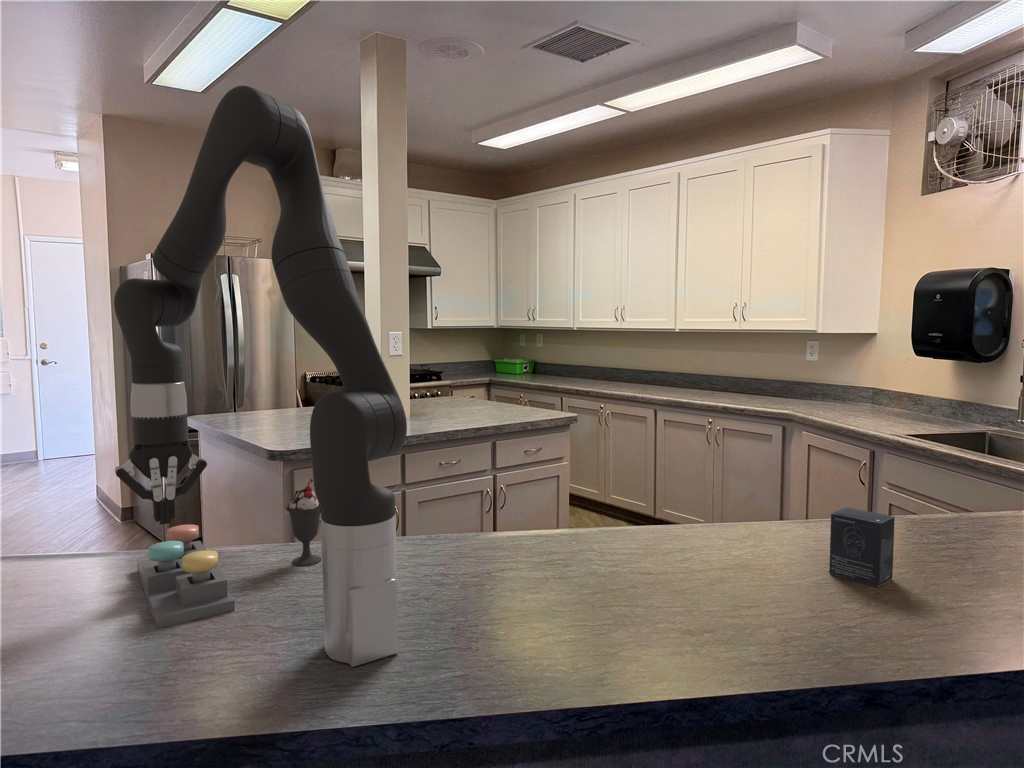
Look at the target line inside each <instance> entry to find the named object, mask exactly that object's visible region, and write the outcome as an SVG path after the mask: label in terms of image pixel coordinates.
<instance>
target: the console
mask: <svg viewBox="0 0 1024 768" xmlns="http://www.w3.org/2000/svg"><path fill="white" fill-rule="evenodd" d="M191 545H192V550H190V551H185V552H184V554H183V555H182V556H181V557H179V558H176V559H175V561H176V569H174V570H168V571H163V572H158V561H151V560H149V559H148V560H143V561H138V562H136V567H137V573H138V576H139V579H140V582H141V585H142V587H143V592H144V593H145V596H146V600H147V603H148V605H149V609H150V611H151V615H152V617H153V621H154V623H155V626H156V629H161V628H165V627H169V626H170V627H171V626H174V625H177V624H182V623H186V622H190V621H194V620H195V621H196V620H199V619H204V618H208V617H212V616H216V615H221V614H224V613H229V612H233V611H235V609H236V608H235V606H236V605H235V599H234V598H233V596H232V594H231V593H230V592H229V590H228V579H227V578H226V576H225V575H224V573H223V572H222V570H221V569H220V568H219V567H215V568H213V569H211V570H210V581H205V582H200V583H195V584H192V573H191V572H185V571H183V570H182V557H183V556H185V555H187V554H189V553H192V552H197V551H205V550H207V549H206V548H205V545H204V544H203V542H202V541H201V540H196V541H195V540H193V541H191Z"/></svg>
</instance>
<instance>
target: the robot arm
mask: <svg viewBox="0 0 1024 768" xmlns="http://www.w3.org/2000/svg"><path fill="white" fill-rule="evenodd" d="M216 106H217V107H216V108H215V110H214V112H213V115H212V117H211V119H210V122H209V124H208V128H207V129H206V133H205V136H204V139H203V142H202V144H201V147H200V149H199V152H198V154H197V155H198V156H197V158H196V160H195V164H194V166H193V170H192V173H191V177H190V179H189V182H188V185H187V187H186V190H185V193H184V195H183V199H181V203H180V205H179V207H178V209H177V211H176V213H175V215H174V217H173V219H172V220H171V222H170V223H169V226H168V227H167V228H166V230H165V232H164V234H163V236H162V237H161V239H160V240H159V242H158V244H157V246H156V248H155V250H154V251H153V254H152V258H151V259H152V264H153V267H154V268H155V269H156V271H157V272H158V273H160V275H162V276H163V277H165V279H153V278H152V279H150V278H149V279H148V278H136V277H135V278H128V279H125V280H124V281H123V282H121V283H120V284H119V286H118V287H117V289H116V290H115V291H116V292H115V294H114V298H113V306H114V312H115V316H116V319H117V322H118V324H119V328H120V330H121V333H122V336H123V338H124V343H125V346H126V347H127V350H128V353H129V357H130V377H131V391H130V407H129V409H130V410H129V411H130V414H131V416H130V417H131V418H130V419H131V434H132V435H131V436H132V437H131V438H132V449H131V451H130V454H129V456H128V458H129V459H128V460H127V461H126V462H125V463H123V464H122V465H119V466H116V467H115V468H114V472H115V475H116V477H117V478H119V480H121V481H122V483H124V484H125V485H126V486H127V487H128V488H129V489H130V490H132V491H133V492H134V493H135V494H136V495H137V496H138V497H139V498H141V499H142V500H150V501H152V516H153V518H154V519H153V520H154V521H155V522H158V524H159V525H160V526H162V525H168V524H169V525H170V524H171V523H172V522H171V520H174V519H175V517H176V509H175V507H176V505H175V500H176V498H177V497H178V496H179V497H180V495H185V494H187V493H188V491H189V490H190V489H191V487H192V486H193V485H194V483H195V482H196V481H197V480H198V478H199V477H200V476H201V474H202V473H203V472H204V470H205V469H206V467H207V465H208V462H207V461H206V459H204V458H202V457H199V456H197V455H195V454H194V452H193V449H192V447H191V446H190V443H189V425H188V424H189V422H188V398H187V392H186V385H185V370H184V366H185V365H184V354H183V349H182V348H181V347H180V345H177V343H176V344H175V343H172V342H167V341H163V340H162V339H161V338H160V335H159V333H158V330H157V328H156V327H159V328H160V327H163V328H165V327H167V328H168V327H177V326H180V325H182V324H185V322H187V320H189V319H190V318H191V317H192V315H193V313H194V312H195V309H196V306H197V301H198V298H199V294H200V293H199V292H200V290H201V286H202V281H203V278H204V274H205V273H206V271H207V270H208V268H210V265H211V263H212V262H213V261H214V259H215V257H216V256H217V254H218V252H219V251H220V249H221V247H222V245H223V242H224V240H225V235H226V231H227V211H226V199H227V198H226V197H227V191H228V186H229V184H230V182H231V180H232V178H233V176H234V174H236V173H235V172H236V171H237V170H238V169H239V167H240V166H242V164H243V163H244V162H245V163H247V164H250V165H254V166H257V167H260V168H263V169H265V170H266V171H267V172H268V173H269V175H270V178H271V179H272V180H271V181H272V182H273V184H274V188H275V190H276V194H277V197H278V201H279V206H280V214H279V215H280V216H279V219H278V223H277V226H276V230H275V233H274V237H273V241H272V244H271V255H270V256H271V262H272V266H273V270H274V274H275V277H276V280H277V284H278V286H279V289H280V292H281V297H282V299H283V301H284V303H285V305H286V308H287V309H288V311H289V312H290V314H291V315H292V317H294V319H295V320H296V321H297V323H298V324H299V325H300V326H301V327H302V328H303V329H304V330H305V332H306V333H307V334H308V335H309V336H310V338H312V339H313V340H314V341H315V343H317V344H318V345H319V346H320V348H321V349H322V351H324V352H325V354H326V355H327V356H328V357H329V358H330V360H331V362H332V363H333V365H334V367H335V369H336V371H337V374H338V375H339V378H340V381H341V382H342V386H343V389H344V390H341V391H340V390H339V391H334V392H329V393H326V394H324V395H323V396H322V397H320V398H319V399H318V400H317V401H316V402H315V404H314V406H313V409H312V412H311V416H310V422H309V441H310V442H309V443H310V444H309V445H310V452H311V453H310V454H311V456H310V457H311V465H312V468H311V469H312V479H313V489H314V493H315V495H316V499H317V500H318V502H319V505H320V509H321V513H320V522H321V523H320V526H321V565H322V571H321V572H322V594H323V595H322V599H323V600H322V601H323V602H322V605H323V606H322V607H323V630H324V631H323V633H324V636H323V637H324V653H325V652H326V653H325V654H326V656H327V655H328V656H329V657H328V656H327V657H328V658H329V659H332V660H334V661H336V662H339V663H344V664H345V663H346V664H348V665H349V666H351V667H357V666H360V665H363V664H364V665H365V664H366V663H367V664H368V663H370V662H373V661H376V660H379V659H382V658H386V657H389V656H393V655H396V654H398V653H399V611H398V610H399V609H398V607H399V606H398V605H399V604H398V603H399V602H398V580H397V523H396V521H397V517H396V498H395V497H396V496H395V493H394V492H393V491H392V490H391V489H389V488H387V487H385V486H379V485H374V484H372V482H371V478H370V471H369V470H370V469H369V468H370V467H369V462H371V461H375V460H378V459H383V458H387V457H391V456H392V455H394V454H396V453H398V452H399V451H401V449H402V447H403V446H404V444H405V443H406V442H405V441H406V438H407V433H408V422H407V416H406V415H407V414H406V411H405V409H404V405H403V403H402V402H403V401H402V399H401V397H400V395H399V393H398V390H397V388H396V386H395V384H394V382H393V379H392V378H391V376H390V375H391V374H390V373H389V371H388V368H387V367H386V364H385V361H384V360H383V358H382V356H381V353H380V352H379V348H378V347H377V344H376V342H375V339H374V337H373V334H372V331H371V328H370V326H369V323H368V319H367V318H366V315H365V312H364V309H363V306H362V304H361V301H360V297H359V295H358V291H357V288H356V285H355V281H354V278H353V274H352V272H351V269H350V266H349V263H348V260H347V256H346V254H345V251H344V248H343V245H342V243H341V241H340V238H339V235H338V233H337V229H336V226H335V223H334V220H333V216H332V213H331V209H330V207H329V204H328V203H329V202H328V200H327V198H326V193H325V190H324V186H323V183H322V178H321V175H320V170H319V166H318V165H319V164H318V161H317V156H316V152H315V146H314V142H313V139H312V134H311V131H310V128H309V125H308V122H307V121H306V119H305V117H304V116H303V114H302V113H301V112H300V111H299V110H298V109H297V108H296V107H294V106H293V105H291V104H289V103H287V102H286V101H284V100H282V99H281V100H280V99H278V98H276V97H274V96H272V95H270V94H269V93H266V92H264V91H261V90H259V89H257V88H254V87H252V86H248V85H237V86H235V87H232V88H231V89H230V90H228V91H227V92H226V93H225V94H224V96H222V98H221V99H220V101H219V103H218V105H216ZM187 464H188V468H189V470H187V472H186V474H184V476H183V477H182V478H181V480H180V482H179V483H178V484H177V476H178V475H180V473H181V472H182V470H183V469H184V468H185V467H186V465H187ZM134 467H135V468H136V469H137V470H138V471H139V472H140V473H141V474H142V475H143V476H144V477H146V478H147V479H149V484H150V489H148V488H146V487H145V486H144V485H143V484H142V483H141V482H140V481H138V480H137V479H136V478H135V477H134V476H135V473H136V472H135V469H134ZM162 478H164V480H163V481H164V487H163V488H164V489H163V488H162ZM162 489H163V490H162Z"/></svg>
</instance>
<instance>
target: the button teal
mask: <svg viewBox="0 0 1024 768" xmlns="http://www.w3.org/2000/svg"><path fill="white" fill-rule="evenodd" d="M147 550H148V560H151V561H158V572H163V571H168V570H174V569H176V561H175V559H176V558H179V557H181V556H182V555H183V554H184V548H183V542H181V541H167V540H165V541H160V542H157V543H154V544H151V545H150V546H148V549H147Z"/></svg>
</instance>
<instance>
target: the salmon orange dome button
mask: <svg viewBox="0 0 1024 768" xmlns="http://www.w3.org/2000/svg"><path fill="white" fill-rule="evenodd" d="M199 528H200V527H199V525H196V524H180V525H176V526H172V527H170V528H167V530H166V541H181V542H183V548H184V552H185V551H190V550H192V545H191V542H193V541H195V540H197V539H198V538H199V537H200V532H199V531H200V530H199Z"/></svg>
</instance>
